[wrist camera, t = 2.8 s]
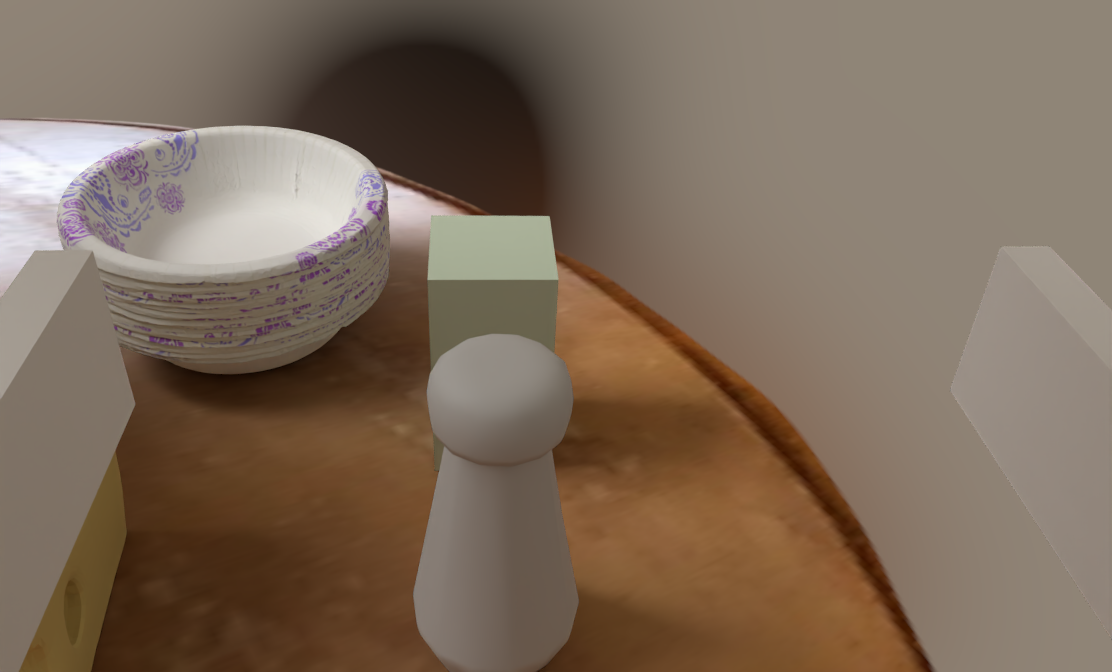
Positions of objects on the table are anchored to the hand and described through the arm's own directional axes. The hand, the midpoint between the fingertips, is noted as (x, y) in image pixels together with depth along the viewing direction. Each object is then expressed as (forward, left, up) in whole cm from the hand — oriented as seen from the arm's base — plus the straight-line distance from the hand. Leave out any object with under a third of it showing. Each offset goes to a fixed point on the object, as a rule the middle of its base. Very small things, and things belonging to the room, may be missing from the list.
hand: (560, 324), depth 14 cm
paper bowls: (-33, +8, -22) cm, 40 cm away
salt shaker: (-9, +6, -22) cm, 24 cm away
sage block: (-18, +12, -22) cm, 31 cm away
